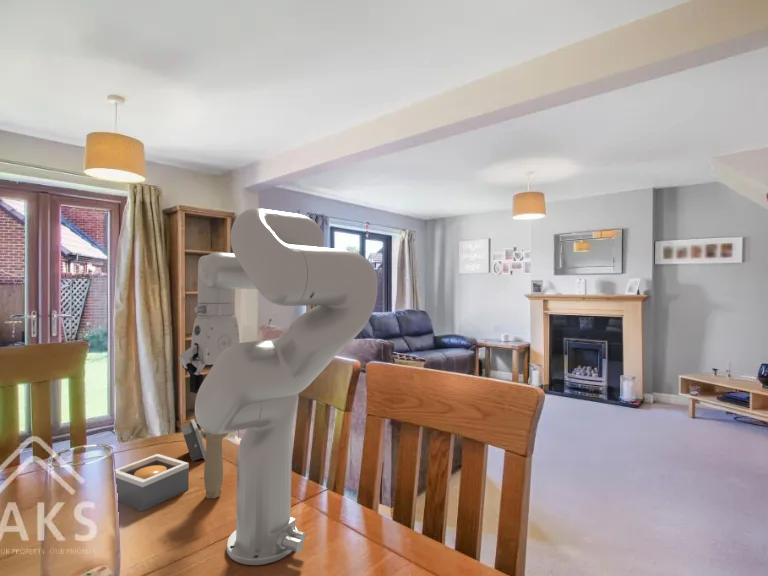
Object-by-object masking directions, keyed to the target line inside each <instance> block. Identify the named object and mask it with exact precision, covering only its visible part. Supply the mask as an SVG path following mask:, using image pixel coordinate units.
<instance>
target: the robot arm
mask: <svg viewBox="0 0 768 576" xmlns="http://www.w3.org/2000/svg"><path fill="white" fill-rule="evenodd" d="M319 225H320V224H318V223H317V221H315V220H314V219H312V218H310V217H308V216H306V215H303V214H300V213H292V212H286V211H280V210H272V209H266V208H259V207H257V208H255V207H254V208H253V207H252V208H249V209H246V210H244V211H242V212H241V213H240V214H239V215H238V216H237V217H236V218H235V220H234V222H233V224H232V227H231V231H230V246H231V249H232V252H219V251H218V252H215V251H214V252H212V253H209V254H208V255H205V254H204V255H202V256H201V257H199V259H198V262H197V303H196V304H197V305H196V306H195V307H194V308H193V311H194V313H196V316H197V317H195V318H194V323H193V328H192V333H191V344H190V347H189V348H188V349H186V350H185V351H183V352H182V353H181V354H180V355H178V359H179V360H180V363H181V364H182V368H183V369H184V370H185V371H186V373H187V374H188V375H189V392H190V393H192V394H193V393H194V394H196V396H195V401H194V415H195V420H196V422H197V424H198V427H200V429H201V428H202V429H203V430H204V431H205V432H207V433H210V434H215V435H217V434H224V433H228V434H229V433H234V432H237V431H242V430H245V431H244V433H243V434H242V437H241V439H240V442H239V444H238V448H237V455H236V457H237V459H236V462H237V464H236V465H237V468H236V470H237V471H236V473H237V474H236V520H235V522H236V523H235V524H236V528H235V530H234V531H233V532H231V534H230V535H229V537H228V538H227V541H226V553H227V555H228V557H229V558H230V559H232V560H233V561H235V562H236V563H239V564H241V565H248V566H261V565H266V564H267V565H268V564H271V563H275V562H277V561H279V560H282V559H284V558H286V557H287V556H289V554H291V553H293V552H295V553H297V554H299V553H301V551H302V550H303V547H304V541H305V540H306V536H307V533H306V532H304V531H301V530H298V528H297V527H296V518H294V517H291V515H292V514H291V511H292V510H291V503H292V457H293V455H292V453H293V452H292V451H293V450H292V449H293V432H294V422H295V416H296V412H297V407H298V402H299V394H300V393H302V392H303V391H304V390H305V389H307V388H308V387H309V386H310V385H311V384H312V382H314V380H316V379H317V377H318V376H319V375H320V374H321V373H322V372H323V371H324V370H325V369H326V368H327V367H328V366H329V364H330V363H331V362H333V359H335V358H336V357H337V355H338V354H339V353H340V352H342V350H344V349H345V348H346V346H347V347H348V345H349V344H350V343H351V342H352V341H353V340H354V339H355V338H356V337H357V336H358V335H359V334H360V333H361V332H362V330H363V329H364V328H365V327H366V325H367V324H368V322H369V320H370V318H371V316H372V315H373V312H374V309H375V306H376V302H377V298H378V286H379V285H378V275H377V272H376V269H375V267H374V265H373V263H371V262H370V260H369V259H367V258H366V257H365V256H363V255H361V254H359V253H357V252H354V251H350V250H346V249H340V248H331V247H323V246H324V244H325V243H324V242H325V237H324V232H323V230H322V228H321V226H319ZM240 289H241V290H246V289H247V290H257V291H258V292H259V293H260V294H261V295H262V297H264V299H265V300H266V301H268V302H270V303H272V304H274V305H276V306H277V305H278V306H282V307H284V306H285V307H297V306H300V307H303V306H304V307H305V306H307V307H308V306H309V307H310V306H314V307H312V308H310V309H308V310H307V311H306V312H305V311H304V313H303V314H301V315H300V316H298V317H297V318H296V319H295V320H294V321H293V322H292V323H291V324H290V326H289V327H288V328H287V330H286V331H285V332H284V333H283V334H282V335H281V336H280V337H277V338H273V339H266V340H265V339H264V340H254V341H252V340H251V341H245V342H240V330H239V325H238V318H237V316H234V315H235V314H234V312H235V311H234V309H235V306H234V305H235V303H234V302H235V301H234V299H235V290H240ZM206 365H209V366H210V365H212V366H211V368H210V369H209V371H208V373H207V374H206V376H205V377H204V374H201V373H202V371H203V369H204V368H205V367H206Z"/></svg>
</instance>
